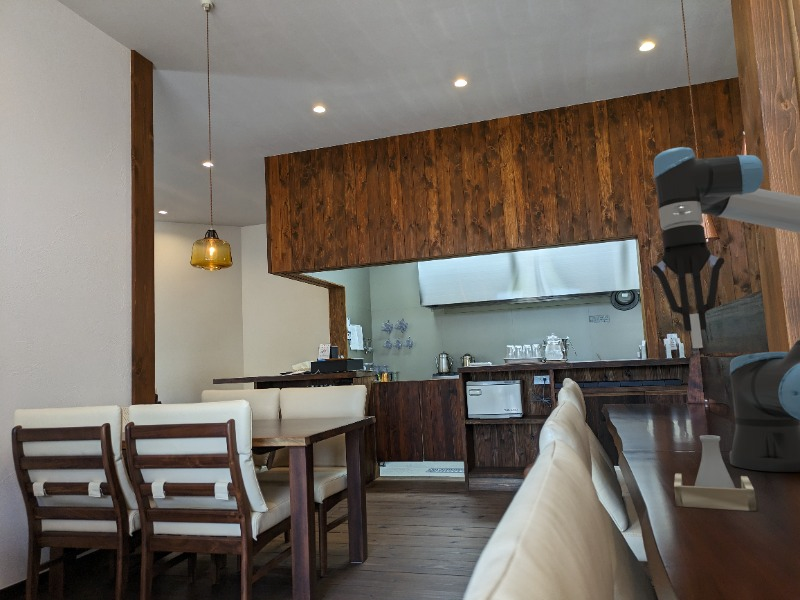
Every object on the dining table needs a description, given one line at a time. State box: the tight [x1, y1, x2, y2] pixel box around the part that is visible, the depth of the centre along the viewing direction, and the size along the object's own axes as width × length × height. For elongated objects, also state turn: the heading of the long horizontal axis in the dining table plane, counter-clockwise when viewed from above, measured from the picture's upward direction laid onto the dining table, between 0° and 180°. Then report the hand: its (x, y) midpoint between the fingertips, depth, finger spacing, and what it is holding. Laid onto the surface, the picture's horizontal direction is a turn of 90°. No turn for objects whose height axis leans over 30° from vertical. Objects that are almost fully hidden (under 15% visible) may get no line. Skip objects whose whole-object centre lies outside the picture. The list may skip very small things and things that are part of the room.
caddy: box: [673, 473, 758, 512], centre depth 94 cm, size 12×11×3 cm
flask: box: [694, 434, 736, 488], centre depth 96 cm, size 7×7×10 cm
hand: (697, 347), depth 111 cm, fingers closed
